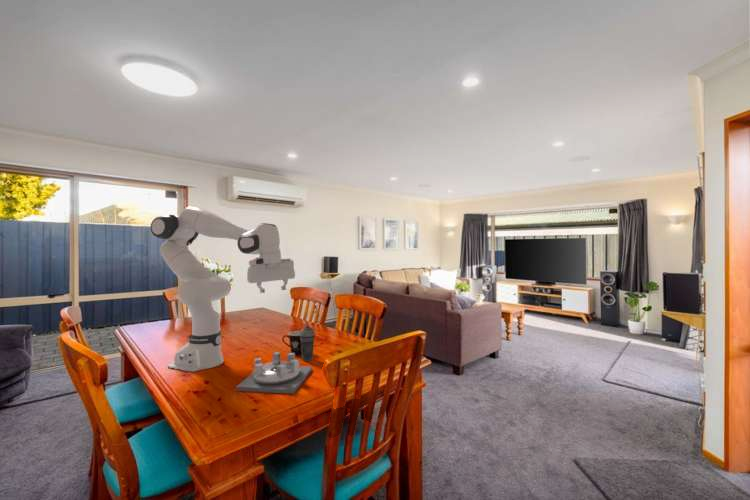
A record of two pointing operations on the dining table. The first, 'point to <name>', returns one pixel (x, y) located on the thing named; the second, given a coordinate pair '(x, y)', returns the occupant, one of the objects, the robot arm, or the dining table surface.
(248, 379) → the base plate
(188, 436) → the dining table surface
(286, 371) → the grey round pegged disc
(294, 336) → the coffee mug
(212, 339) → the robot arm
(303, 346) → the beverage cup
